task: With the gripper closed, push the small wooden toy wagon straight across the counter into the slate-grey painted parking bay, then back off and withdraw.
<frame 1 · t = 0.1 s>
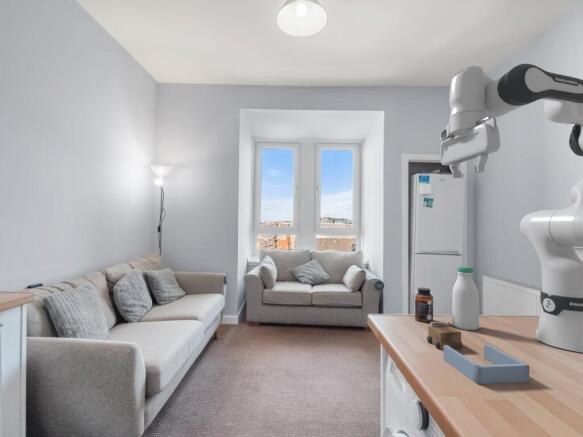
hand: (467, 175, 86), 48 cm above the table, tool pointing down, fingers open, 8 cm apart
milk bottle: (465, 327, 102), on the table
wooden toy wagon: (444, 344, 86), on the table
bay: (483, 369, 71), on the table
supplement bottle: (424, 320, 108), on the table
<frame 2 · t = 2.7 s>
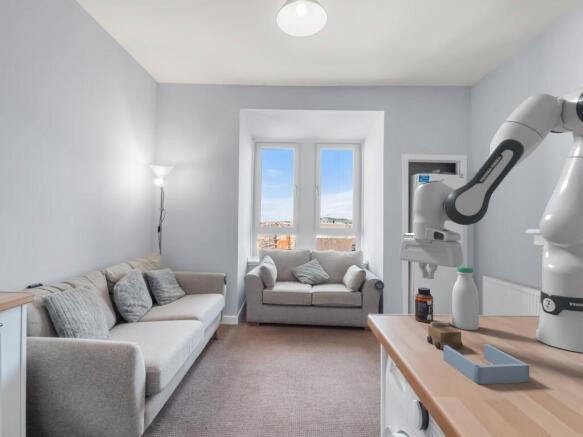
hand: (427, 278, 94), 17 cm above the table, tool pointing down, fingers closed
nothing on the table moved.
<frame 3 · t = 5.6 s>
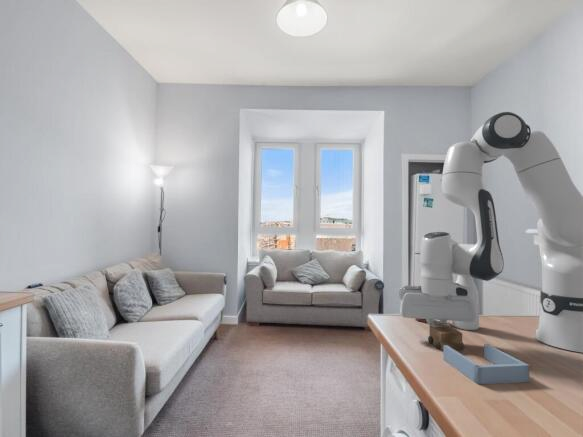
hand: (436, 334, 90), 2 cm above the table, tool pointing down, fingers closed
wooden toy wagon: (445, 345, 85), on the table, touching gripper
everything else where it was.
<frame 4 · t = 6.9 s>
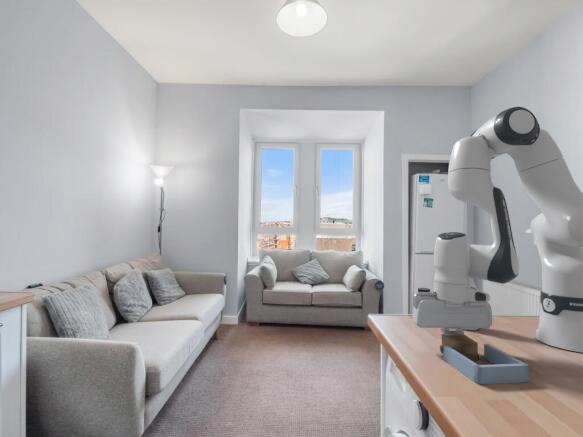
hand: (451, 343, 83), 2 cm above the table, tool pointing down, fingers closed, pressing on wooden toy wagon
wooden toy wagon: (458, 355, 79), on the table, touching gripper
everything else where it was.
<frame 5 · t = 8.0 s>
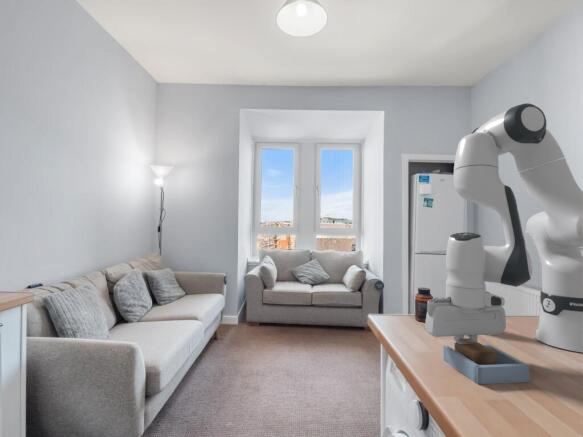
hand: (465, 352, 77), 2 cm above the table, tool pointing down, fingers closed, pressing on wooden toy wagon
wooden toy wagon: (474, 365, 73), on the table, touching gripper
everything else where it was.
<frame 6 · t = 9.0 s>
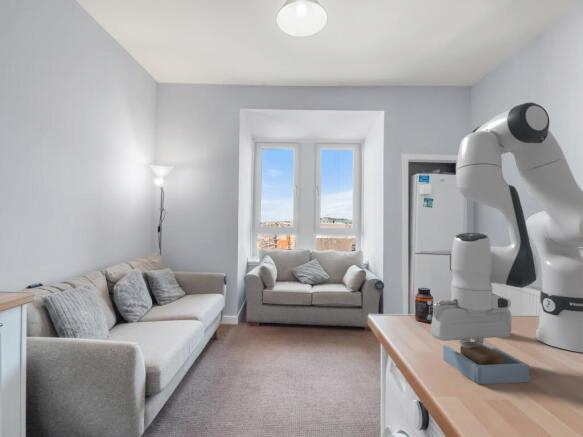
hand: (471, 355, 75), 2 cm above the table, tool pointing down, fingers closed, pressing on wooden toy wagon
wooden toy wagon: (481, 370, 71), on the table, touching gripper
everything else where it was.
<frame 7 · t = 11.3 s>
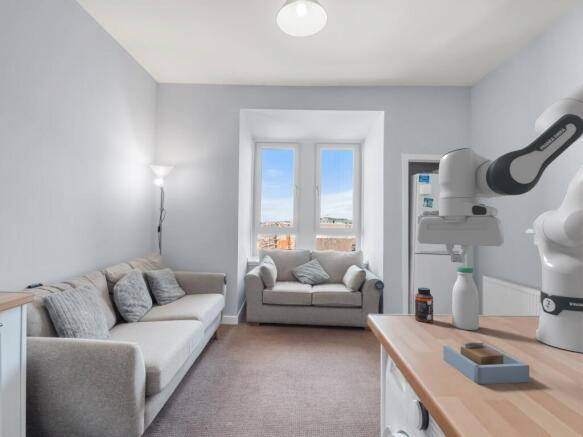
hand: (457, 262, 81), 24 cm above the table, tool pointing down, fingers closed
wooden toy wagon: (481, 370, 71), on the table
everything else where it was.
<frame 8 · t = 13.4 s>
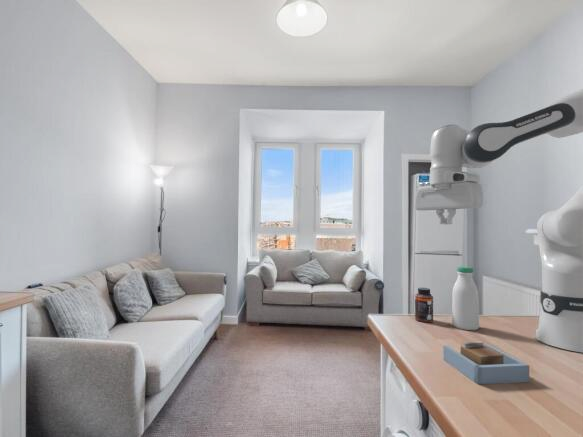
hand: (445, 224, 93), 34 cm above the table, tool pointing down, fingers closed
nothing on the table moved.
at the end: wooden toy wagon inside the target area (0.8 cm from its centre), on the table; wooden toy wagon tilted 0°; wooden toy wagon touching table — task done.
